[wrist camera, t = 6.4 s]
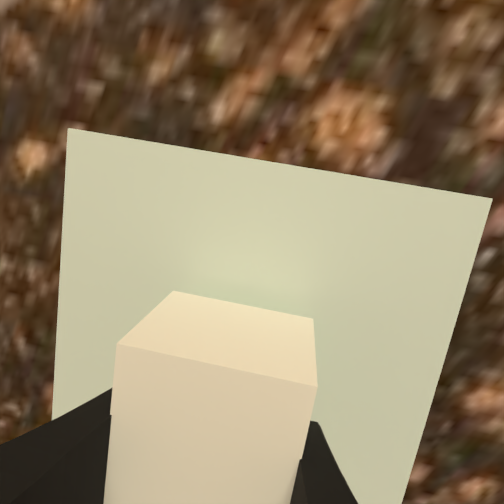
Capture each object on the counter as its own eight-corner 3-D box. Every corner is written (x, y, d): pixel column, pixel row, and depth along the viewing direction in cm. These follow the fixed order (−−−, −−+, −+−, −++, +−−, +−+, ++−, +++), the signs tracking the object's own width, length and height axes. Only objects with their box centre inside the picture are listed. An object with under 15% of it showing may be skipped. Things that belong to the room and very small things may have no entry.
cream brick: (275, 498, 12) (264, 626, 9) (151, 467, 13) (94, 579, 9) (313, 318, 11) (317, 387, 7) (173, 290, 11) (116, 343, 8)
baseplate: (369, 584, 14) (372, 602, 14) (56, 503, 15) (46, 517, 15) (482, 197, 11) (492, 198, 10) (79, 129, 12) (68, 128, 12)
